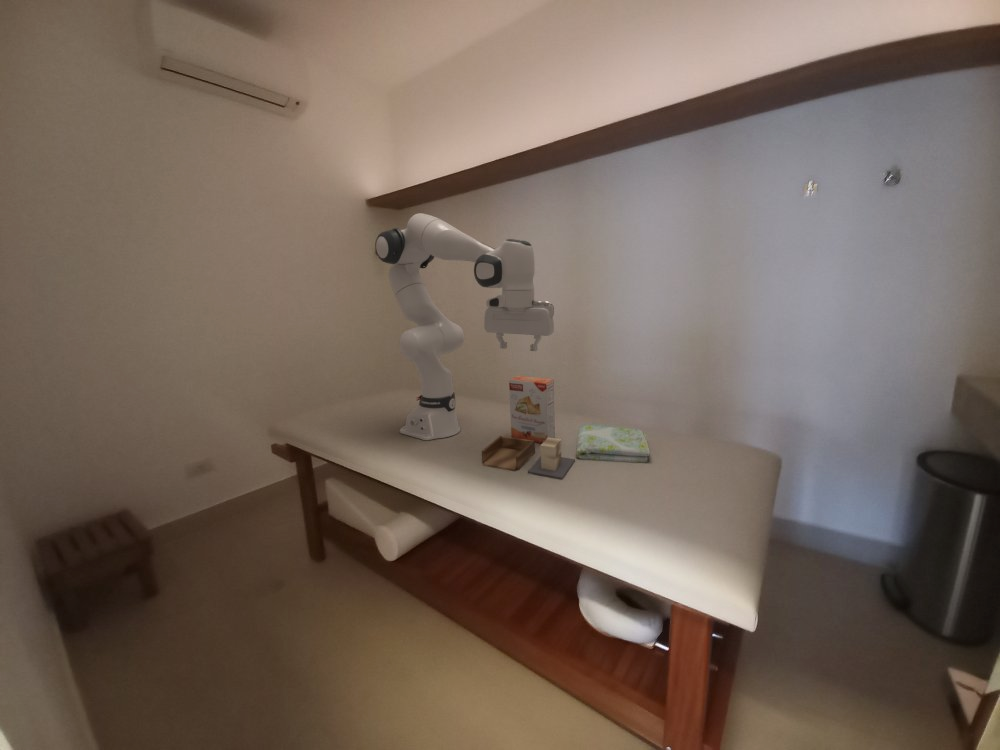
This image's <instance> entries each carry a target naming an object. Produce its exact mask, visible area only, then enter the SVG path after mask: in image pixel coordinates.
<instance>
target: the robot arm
mask: <svg viewBox="0 0 1000 750" xmlns="http://www.w3.org/2000/svg"><path fill="white" fill-rule="evenodd" d="M374 244H375V245H374V246H375V252H376V255H377V257H378V259H379V260H380V261H381V262H384V263H385V264H388V265H391V266H390V268H389V269H388V273H387V274H388V280H389V283H390V286H391V290H392V292H393V294H394V297H395V299H396V301H397V303H398V306H399V307H400V310H401V312H402V314H403V316H404V317H405V318H406V319H407V320H408V321H411V322H413V323H414V324H416V325H417V326H414V327H412V328H410V329H409V328H408V329H407V330H405V331H404V332H402V333H401V335H400V338H399V349H400V351H401V354H403V356H405V358H407V359H408V360H410V361H411V362H412V363H413V364H414V366H415V367H416V369H417V371H418V375H419V380H420V386H421V388H420V389H421V394H420V395H419V396H418V397H416V401H419V402H418V405H417V406H416V407H414V408H413V409H411V411H410V412H409V413H408V414H407V416H406V419H405V425H404V426H402V427H401V428H400V429H399V433H400V434H402V435H406V436H409V437H413V438H416V439H420V440H423V441H432V440H435V439H443V438H448V437H451V436H455V435H457V434H458V433H460V432H461V429H462V428H461V426H460V423H459V420H458V416H457V411H456V395H455V391H454V384H453V373H452V371H451V370H450V369H449V368H448V367H446V366H444V365H443V363H442V361H441V355H445V354H446V355H447V354H450V353H453V352H454V351H457V350H458V349H460V348H461V347H462V346H463V345H464V342H465V334H464V331H463V328H462V327H461V326H460V325H459V324H457V323H454V322H453V321H452V320H450V319H449V318H448V317H446V316H445V315H444V313H442V311H440V309H439V308H438V307H437V305H436V304H435V302H434V301H433V299H432V297H431V295H430V294H429V291H428V289H427V287H426V285H425V283H424V281H423V279H422V277H421V273H420V269H426V268H427V267H428V265H429V263H431V262H432V261H433V260H434V259H435V258H437V259H441V260H444V261H462V262H470V263H474V266H473V274H474V279H475V280H476V282H477V284H478V285H480V286H481V287H483V288H486V289H495V288H496V289H502V292H501V294H500V295H497V296H494V297H490V298H488V299H486V301H485V303H486V305H485V306H486V307H487V308H486V309H485V313H484V317H483V318H484V324H483V325H484V326H483V327H484V330H485V331H486V333H490V334H491V333H492V334H495V337H496V339H497V341H498V342H499V348H500V349H501V350H503V349H504V350H506V349H507V348H508V341H505V340H504V336H505V334H507V335H508V334H510V335H524V336H525V335H526V336H533V340H534V342H533V343H532V344H530V345H529V348H530V350H529V351H530V352H537V351H538V344H539V343H540V341H541V340H542V337H549V336H551V335H552V334H553V333H554V332H555V326H554V325H555V323H554V322H555V321H554V315H555V306H554V305H553V303H550V301H548V300H544V301H543V300H541V301H540V300H535V285H534V277H535V276H534V275H535V254H534V248H533V245H532V244H531V243H530V242H529V241H527V240H522V239H515V238H514V239H513V238H508V239H505V240H503V242H502V243H501V244H500V246H498V247H496V248H494V247H492V246H490V245H487V244H485V243H484V242H481V241H479V240H477V239H475V238H474V237H472V236H471V235H468V234H467V233H464V232H462V231H461V230H459V229H458V228H457V227H455V226H453V225H451V224H450V223H448V222H446V221H444V220H442V219H441V218H439V217H436V216H433V215H430V214H426V213H422V212H420V213H416V214H413V215H412V216H411V217H410V218H409V219H408V222H407V225H406V228H404V229H400V228H398V227H395V228H392V229H388V230H385V231H381V232H380V233H379V234H378V236H377V237H376V239H375V243H374Z"/></svg>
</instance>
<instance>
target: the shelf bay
mask: <svg viewBox="0 0 1000 750" xmlns="http://www.w3.org/2000/svg"><path fill="white" fill-rule="evenodd" d="M535 444H536V442H535V441H534V440H527V439H520V438H514V437H511V436H505V435H500V436H498V437H497V438H496V439H494V440H493V441H492V442H491V443H490V444H488V445H487V446H486V447H485V448H483V449H482V450H481V462H482V463H481V464H482V465H483V466H485V467H491V468H497V469H502V470H507V471H512V472H516V471H520V469H522V467H524V465H525V464H526V463H527V462H528V461H529V460H530V458H531V457H533V455H535V454H536V446H535Z"/></svg>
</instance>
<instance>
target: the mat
mask: <svg viewBox="0 0 1000 750" xmlns="http://www.w3.org/2000/svg"><path fill="white" fill-rule="evenodd" d="M561 458H562V462H561V463H560V465H559V466H558V467H557V469H556V470H555V471H553V470H547V469H541V456H540V457H539V458H538V459H537V460H536V461H535V463H533V465H532V466H531V467H530V468H529V469H528V470H527V474H530V475H534V476H541V477H546V478H552V479H557V480H563V479H564V478H565V477H566V475H567V474H568V472H569V470H570V469H571V468H572V466H573V465H574V464H575V462H576V459H575V458H570V457H564V456H563V457H562V456H561Z"/></svg>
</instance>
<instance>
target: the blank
mask: <svg viewBox="0 0 1000 750" xmlns="http://www.w3.org/2000/svg"><path fill="white" fill-rule="evenodd" d="M540 457H541V469H547V470H553V471H555V470H556V469H557V467H558V466H559V465H560V463H561V462H562V458H561V457H562V438H556V437H555V438H547V439H546V440H545V441H544V442H543V443H540Z"/></svg>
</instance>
